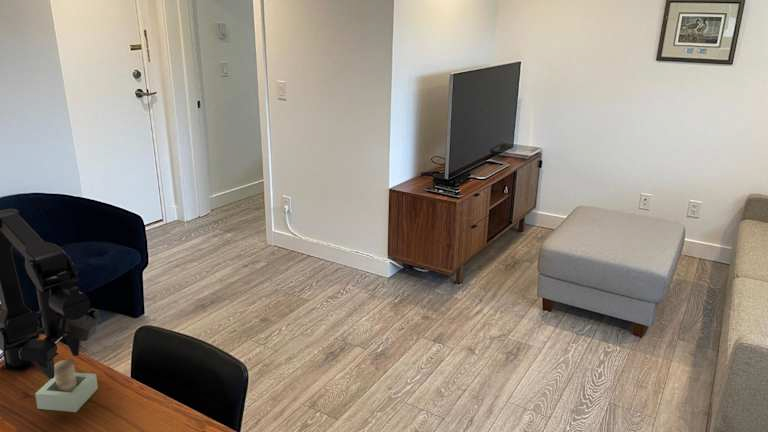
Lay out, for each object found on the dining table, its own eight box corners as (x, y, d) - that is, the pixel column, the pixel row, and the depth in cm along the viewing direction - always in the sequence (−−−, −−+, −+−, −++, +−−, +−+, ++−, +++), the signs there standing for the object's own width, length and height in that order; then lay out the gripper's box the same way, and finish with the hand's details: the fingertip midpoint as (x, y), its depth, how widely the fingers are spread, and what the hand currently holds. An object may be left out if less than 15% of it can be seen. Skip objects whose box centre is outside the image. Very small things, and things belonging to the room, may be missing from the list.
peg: (55, 402, 133) (49, 368, 130) (65, 392, 137) (60, 359, 134) (72, 404, 133) (66, 370, 130) (82, 393, 137) (77, 360, 134)
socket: (37, 408, 131) (35, 393, 130) (61, 385, 139) (59, 370, 138) (76, 412, 130) (73, 397, 129) (97, 388, 139) (96, 374, 138)
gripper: (63, 328, 118) (74, 394, 123) (112, 289, 135) (119, 347, 140) (11, 324, 118) (23, 389, 123) (66, 285, 136) (75, 344, 141)
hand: (64, 366), depth 132 cm, fingers open, 9 cm apart
